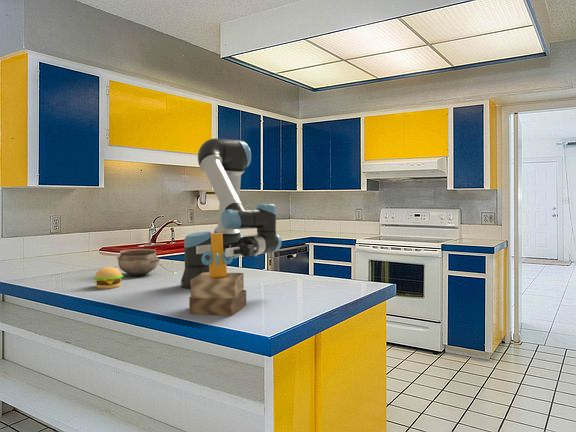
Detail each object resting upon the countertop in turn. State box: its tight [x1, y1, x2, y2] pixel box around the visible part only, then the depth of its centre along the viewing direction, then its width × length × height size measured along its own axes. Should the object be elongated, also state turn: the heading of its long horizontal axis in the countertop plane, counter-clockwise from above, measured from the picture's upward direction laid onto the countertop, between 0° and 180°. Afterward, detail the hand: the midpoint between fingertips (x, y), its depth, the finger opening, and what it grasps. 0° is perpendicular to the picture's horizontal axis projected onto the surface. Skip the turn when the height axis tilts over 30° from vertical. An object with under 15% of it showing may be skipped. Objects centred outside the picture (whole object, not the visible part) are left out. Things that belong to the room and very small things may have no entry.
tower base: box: [188, 289, 247, 317], centre depth 159 cm, size 15×15×6 cm
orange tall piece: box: [202, 232, 234, 278], centre depth 158 cm, size 12×10×15 cm
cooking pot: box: [116, 248, 161, 277], centre depth 229 cm, size 25×19×12 cm
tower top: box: [190, 272, 245, 299], centre depth 159 cm, size 15×15×6 cm
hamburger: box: [93, 266, 124, 290], centre depth 200 cm, size 12×12×9 cm
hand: (211, 251), depth 155 cm, fingers open, 13 cm apart
